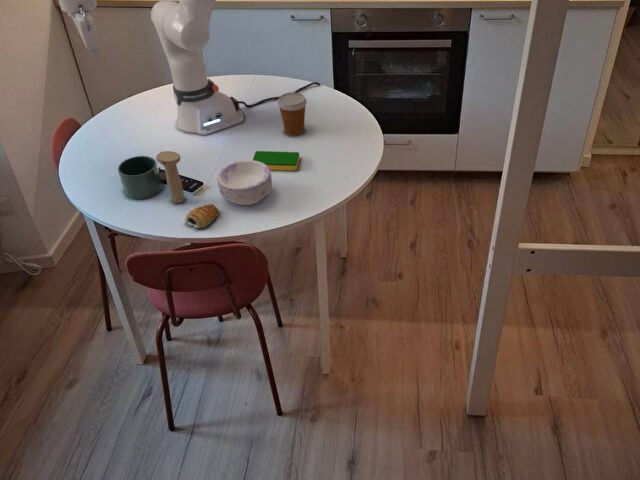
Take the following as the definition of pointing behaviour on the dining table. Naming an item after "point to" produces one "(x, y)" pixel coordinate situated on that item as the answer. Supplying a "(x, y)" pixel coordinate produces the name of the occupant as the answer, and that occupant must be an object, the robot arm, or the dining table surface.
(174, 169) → the handle
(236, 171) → the white bowl
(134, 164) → the crock
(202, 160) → the dining table surface
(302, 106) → the disposable coffee cup
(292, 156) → the dish sponge
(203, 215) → the pastry
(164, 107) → the dining table surface
